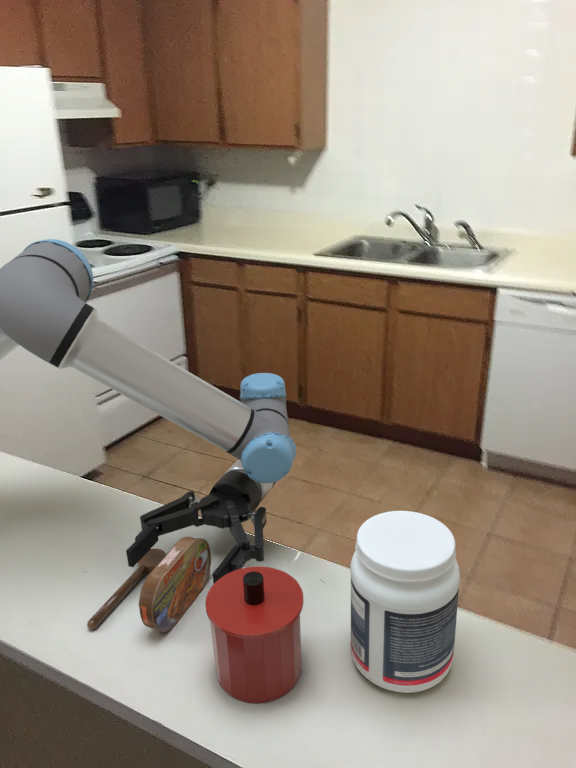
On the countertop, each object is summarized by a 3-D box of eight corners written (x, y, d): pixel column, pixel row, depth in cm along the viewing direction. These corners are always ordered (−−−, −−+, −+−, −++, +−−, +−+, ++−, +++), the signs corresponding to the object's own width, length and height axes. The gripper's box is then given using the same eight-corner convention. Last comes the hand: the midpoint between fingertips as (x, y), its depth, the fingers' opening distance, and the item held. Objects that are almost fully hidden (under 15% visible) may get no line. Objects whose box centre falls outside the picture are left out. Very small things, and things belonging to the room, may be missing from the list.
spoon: (103, 636, 89) (101, 628, 89) (76, 627, 91) (75, 619, 90) (172, 557, 104) (171, 550, 103) (148, 551, 106) (147, 544, 105)
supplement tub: (467, 643, 86) (479, 525, 79) (429, 717, 76) (439, 590, 69) (376, 607, 93) (379, 495, 85) (331, 670, 83) (330, 550, 75)
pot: (201, 687, 81) (193, 621, 77) (240, 627, 90) (235, 564, 86) (281, 714, 77) (277, 646, 73) (313, 648, 86) (312, 584, 82)
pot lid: (187, 626, 77) (184, 598, 75) (233, 565, 87) (231, 538, 85) (280, 654, 73) (278, 625, 71) (317, 586, 82) (317, 559, 81)
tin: (159, 645, 87) (151, 595, 84) (139, 639, 89) (131, 589, 85) (214, 574, 100) (210, 527, 97) (196, 569, 101) (191, 523, 98)
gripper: (313, 524, 105) (255, 615, 87) (177, 494, 114) (100, 571, 96) (313, 484, 102) (252, 569, 84) (173, 456, 111) (92, 528, 93)
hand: (171, 570), depth 90 cm, fingers open, 13 cm apart
